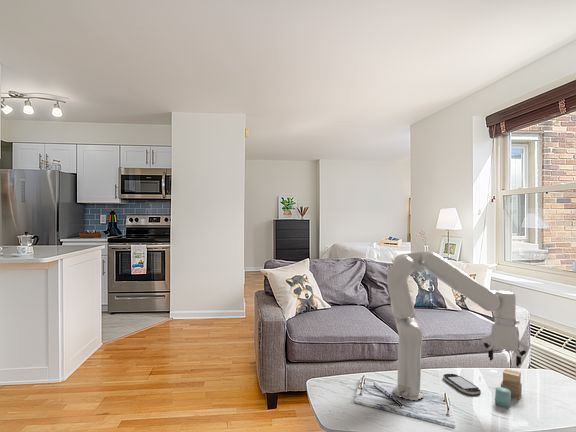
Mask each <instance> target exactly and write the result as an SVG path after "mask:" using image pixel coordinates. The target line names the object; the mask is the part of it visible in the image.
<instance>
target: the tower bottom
mask: <svg viewBox="0 0 576 432" xmlns="http://www.w3.org/2000/svg"><path fill="white" fill-rule="evenodd" d="M522 385H523V383H522V382H521V383H520V386H519V388H517V387H513V386H509V385H505V384H503V380H502V381H501V382H500V387H502V388H506V389H508V390H510V391H511V399H514V400H516V401H517V400H518V401H519V400H520V398H521V396H522V387H523V386H522Z"/></svg>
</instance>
